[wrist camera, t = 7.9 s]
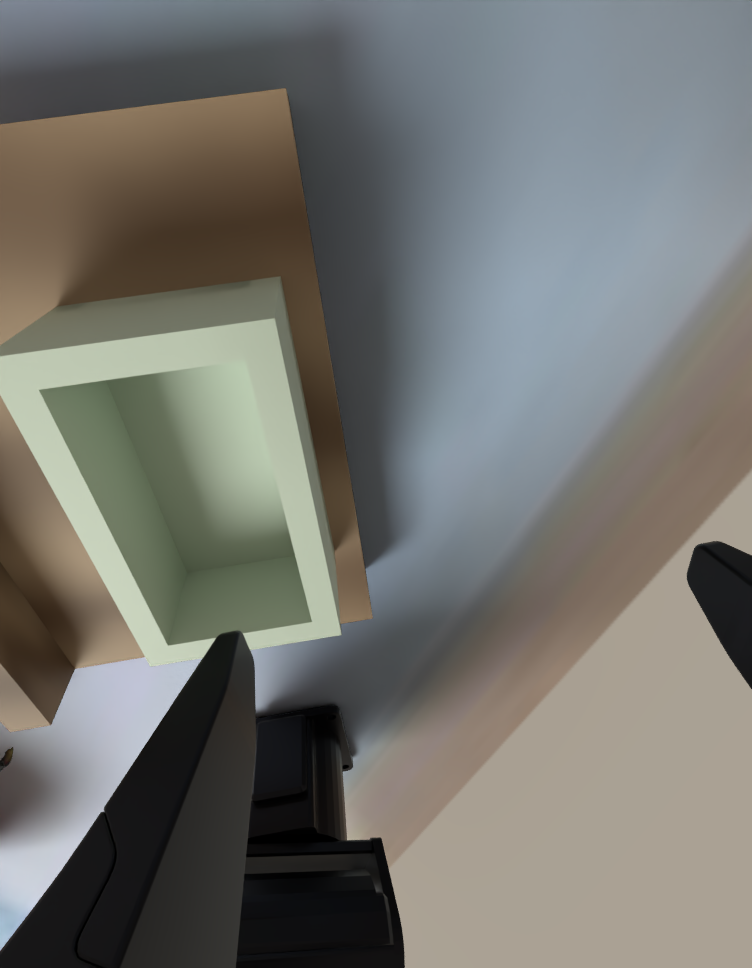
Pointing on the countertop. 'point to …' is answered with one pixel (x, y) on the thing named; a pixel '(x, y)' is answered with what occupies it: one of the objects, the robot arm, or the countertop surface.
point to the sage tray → (183, 462)
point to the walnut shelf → (131, 272)
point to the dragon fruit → (6, 758)
